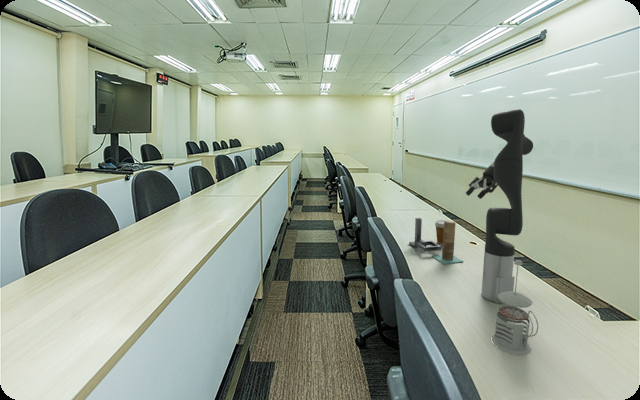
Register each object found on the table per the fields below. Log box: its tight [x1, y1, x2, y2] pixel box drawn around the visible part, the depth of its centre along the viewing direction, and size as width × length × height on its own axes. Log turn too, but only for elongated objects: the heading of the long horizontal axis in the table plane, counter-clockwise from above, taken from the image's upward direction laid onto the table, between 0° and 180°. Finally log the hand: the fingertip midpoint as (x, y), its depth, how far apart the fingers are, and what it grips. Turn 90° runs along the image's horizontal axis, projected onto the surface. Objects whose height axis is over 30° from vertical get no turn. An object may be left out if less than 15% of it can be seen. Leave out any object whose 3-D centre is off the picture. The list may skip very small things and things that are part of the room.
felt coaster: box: [431, 254, 464, 265], centre depth 149 cm, size 10×10×1 cm
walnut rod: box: [441, 220, 457, 260], centre depth 148 cm, size 5×5×18 cm
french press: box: [491, 259, 539, 356], centre depth 84 cm, size 10×12×25 cm
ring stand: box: [408, 217, 442, 253], centre depth 162 cm, size 18×9×16 cm, turn 10°
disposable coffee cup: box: [434, 219, 446, 245], centre depth 173 cm, size 10×10×12 cm
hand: (472, 196), depth 146 cm, fingers open, 8 cm apart
